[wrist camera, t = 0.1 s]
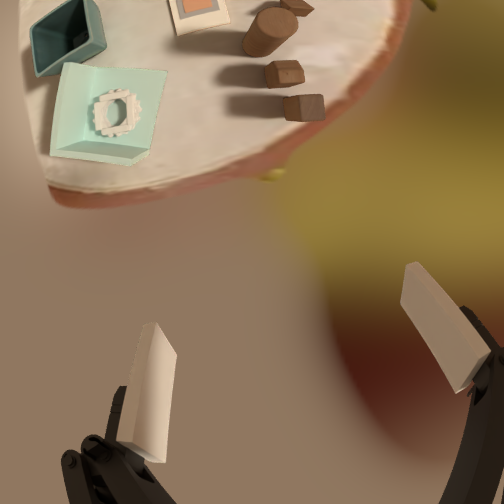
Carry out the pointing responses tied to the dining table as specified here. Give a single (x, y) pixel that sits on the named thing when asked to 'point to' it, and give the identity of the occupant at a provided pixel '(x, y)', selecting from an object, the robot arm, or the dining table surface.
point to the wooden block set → (287, 71)
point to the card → (198, 15)
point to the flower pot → (66, 36)
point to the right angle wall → (105, 113)
